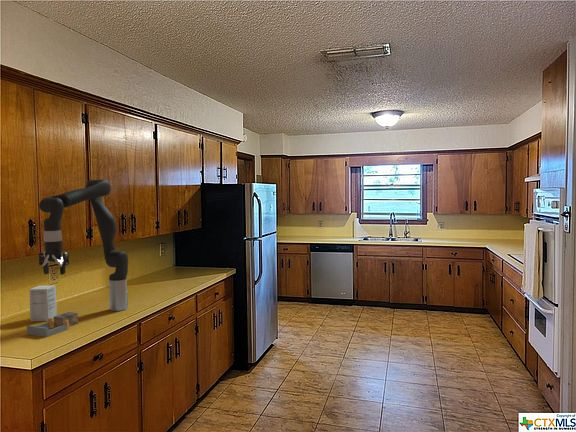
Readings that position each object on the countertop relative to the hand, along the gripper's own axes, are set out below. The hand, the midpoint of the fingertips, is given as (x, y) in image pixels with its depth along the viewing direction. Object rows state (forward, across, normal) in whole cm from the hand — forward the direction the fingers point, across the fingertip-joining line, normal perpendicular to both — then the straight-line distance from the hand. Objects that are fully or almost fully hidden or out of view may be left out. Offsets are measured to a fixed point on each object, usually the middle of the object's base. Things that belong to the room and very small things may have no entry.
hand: (54, 274), depth 201 cm
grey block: (+28, +2, -9) cm, 29 cm away
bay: (+28, +3, +1) cm, 28 cm away
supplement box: (+28, +22, -17) cm, 39 cm away
